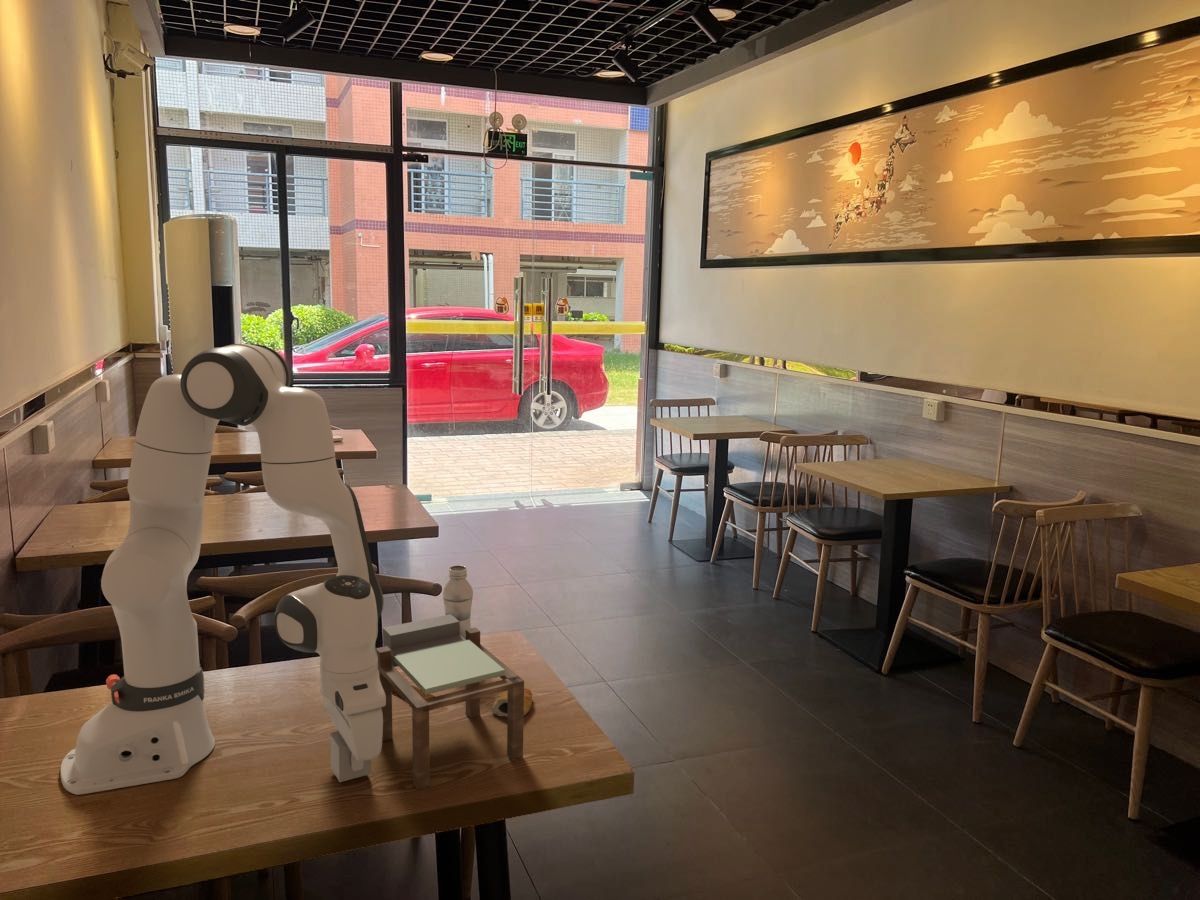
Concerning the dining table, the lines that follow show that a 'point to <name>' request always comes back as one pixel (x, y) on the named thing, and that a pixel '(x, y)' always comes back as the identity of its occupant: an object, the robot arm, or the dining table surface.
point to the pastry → (502, 703)
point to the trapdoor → (438, 654)
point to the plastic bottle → (458, 597)
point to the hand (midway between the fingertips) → (350, 758)
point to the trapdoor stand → (470, 695)
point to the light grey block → (344, 760)
